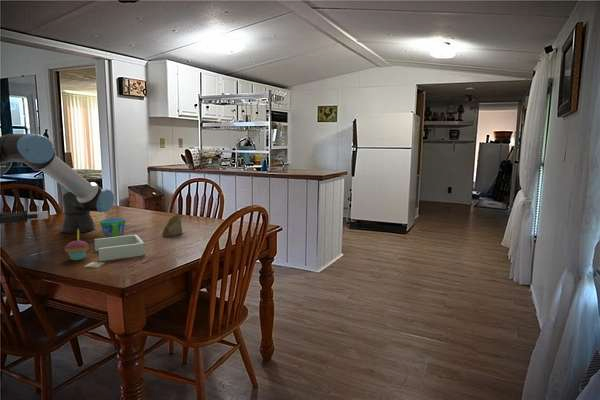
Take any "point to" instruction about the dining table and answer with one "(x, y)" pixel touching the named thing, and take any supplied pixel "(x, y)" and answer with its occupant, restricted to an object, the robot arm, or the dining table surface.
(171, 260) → the dining table surface
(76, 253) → the cupcake
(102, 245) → the tray
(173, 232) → the rock
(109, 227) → the snack cup
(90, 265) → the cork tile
